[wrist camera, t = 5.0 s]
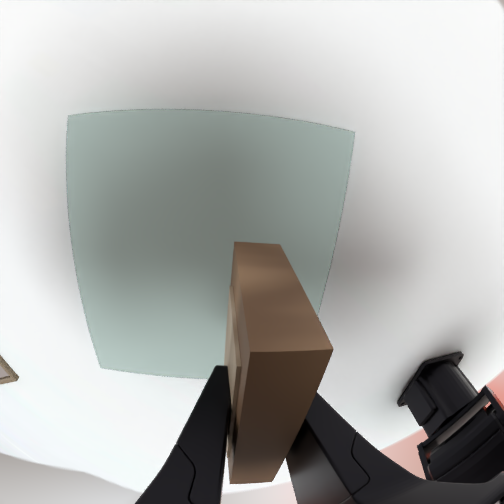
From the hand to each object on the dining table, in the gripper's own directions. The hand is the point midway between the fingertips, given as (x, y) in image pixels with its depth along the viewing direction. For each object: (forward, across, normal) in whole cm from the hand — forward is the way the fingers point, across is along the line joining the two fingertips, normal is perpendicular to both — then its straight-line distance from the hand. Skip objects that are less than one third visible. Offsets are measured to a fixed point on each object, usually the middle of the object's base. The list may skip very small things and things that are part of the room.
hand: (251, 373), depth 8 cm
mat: (+7, +2, 0) cm, 7 cm away
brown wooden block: (+2, 0, 0) cm, 2 cm away
